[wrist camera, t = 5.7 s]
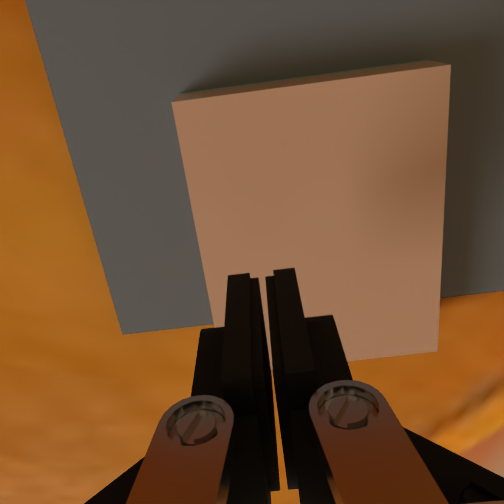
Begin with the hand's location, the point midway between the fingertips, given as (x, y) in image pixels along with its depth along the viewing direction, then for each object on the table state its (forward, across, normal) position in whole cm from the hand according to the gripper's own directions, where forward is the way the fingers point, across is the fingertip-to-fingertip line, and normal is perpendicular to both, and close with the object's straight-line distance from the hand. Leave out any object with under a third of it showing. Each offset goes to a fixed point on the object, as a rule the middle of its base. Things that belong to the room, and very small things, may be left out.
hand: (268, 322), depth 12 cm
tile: (+5, +2, 0) cm, 6 cm away
